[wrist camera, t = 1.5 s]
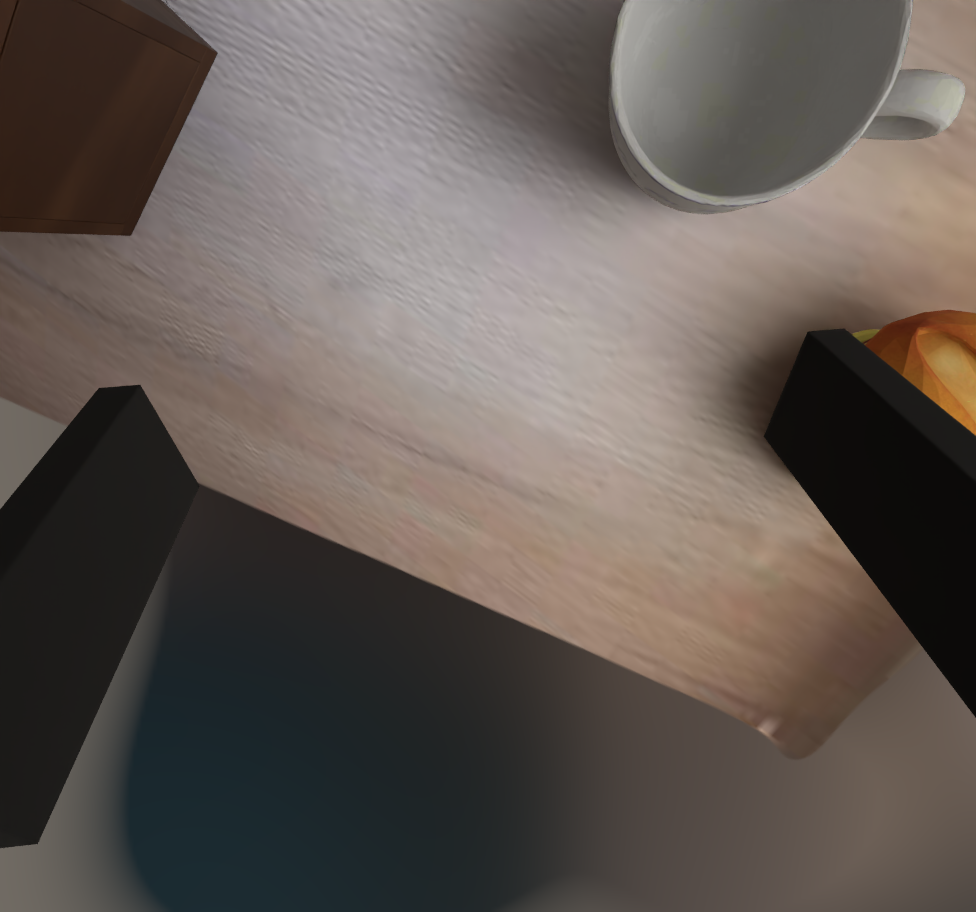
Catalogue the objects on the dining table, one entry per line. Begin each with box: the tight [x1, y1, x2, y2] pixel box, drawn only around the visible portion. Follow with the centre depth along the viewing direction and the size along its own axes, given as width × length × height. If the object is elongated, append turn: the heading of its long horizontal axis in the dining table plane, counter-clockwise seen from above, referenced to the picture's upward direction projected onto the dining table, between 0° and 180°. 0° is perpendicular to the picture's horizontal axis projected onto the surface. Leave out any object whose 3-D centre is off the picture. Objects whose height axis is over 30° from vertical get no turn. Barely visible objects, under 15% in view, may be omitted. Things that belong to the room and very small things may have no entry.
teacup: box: [609, 0, 965, 214], centre depth 23 cm, size 14×11×8 cm
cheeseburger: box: [852, 310, 976, 435], centre depth 27 cm, size 10×11×10 cm
